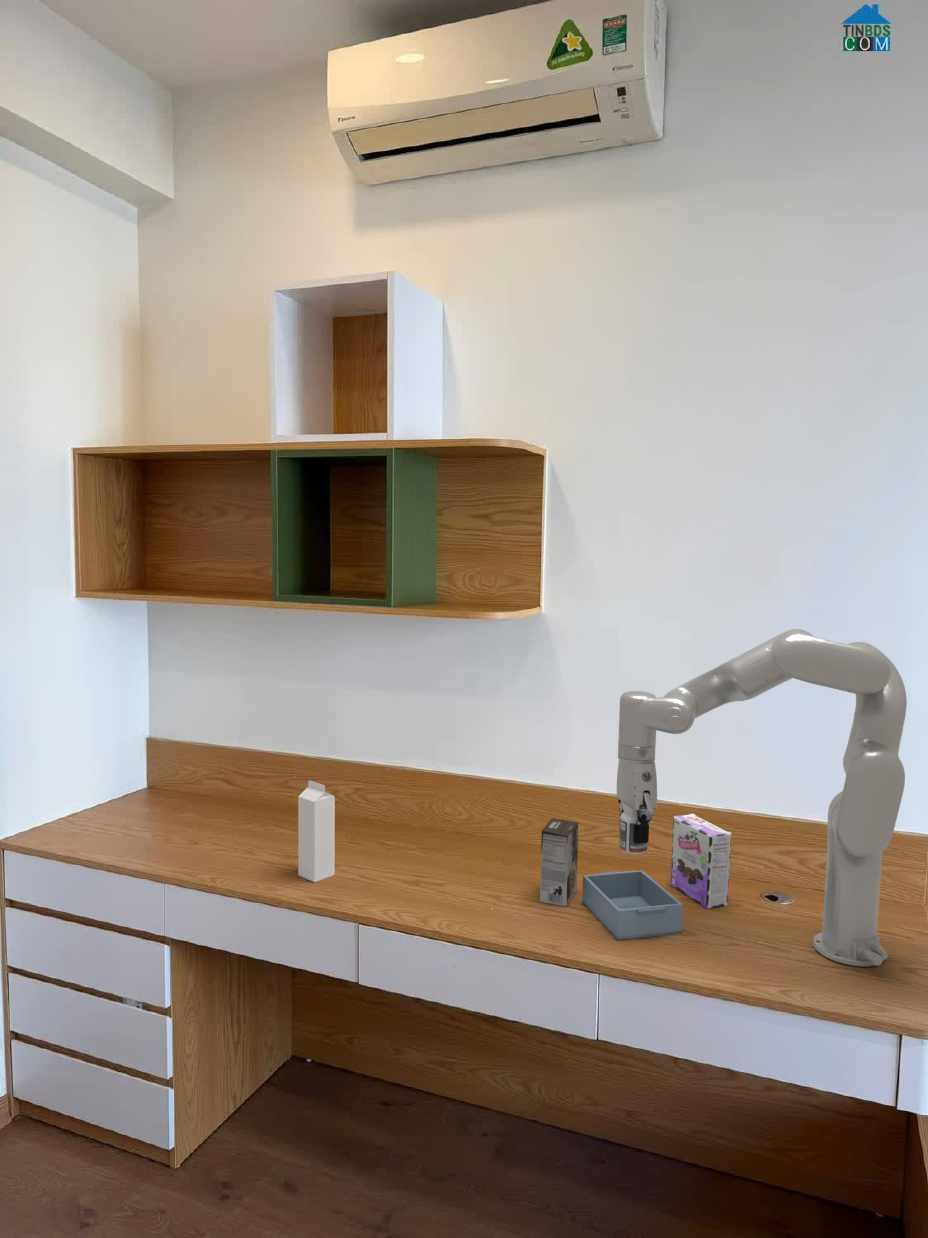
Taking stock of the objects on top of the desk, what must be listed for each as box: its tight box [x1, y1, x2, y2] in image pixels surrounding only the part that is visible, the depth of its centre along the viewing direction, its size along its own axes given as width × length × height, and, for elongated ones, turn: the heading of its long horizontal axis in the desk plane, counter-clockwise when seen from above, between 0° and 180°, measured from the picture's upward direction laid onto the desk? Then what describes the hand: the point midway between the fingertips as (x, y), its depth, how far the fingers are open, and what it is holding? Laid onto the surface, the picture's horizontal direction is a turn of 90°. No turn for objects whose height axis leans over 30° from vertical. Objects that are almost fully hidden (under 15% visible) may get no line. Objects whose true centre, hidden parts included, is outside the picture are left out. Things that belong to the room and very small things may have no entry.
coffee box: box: [539, 817, 579, 907], centre depth 186 cm, size 9×6×16 cm
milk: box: [297, 780, 336, 883], centre depth 195 cm, size 6×6×22 cm
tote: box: [581, 870, 684, 941], centre depth 176 cm, size 20×14×6 cm
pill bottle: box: [618, 803, 648, 856], centre depth 175 cm, size 6×6×10 cm
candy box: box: [670, 813, 732, 909], centre depth 188 cm, size 14×6×16 cm, turn 21°
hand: (633, 836), depth 175 cm, fingers closed on pill bottle, 5 cm apart
